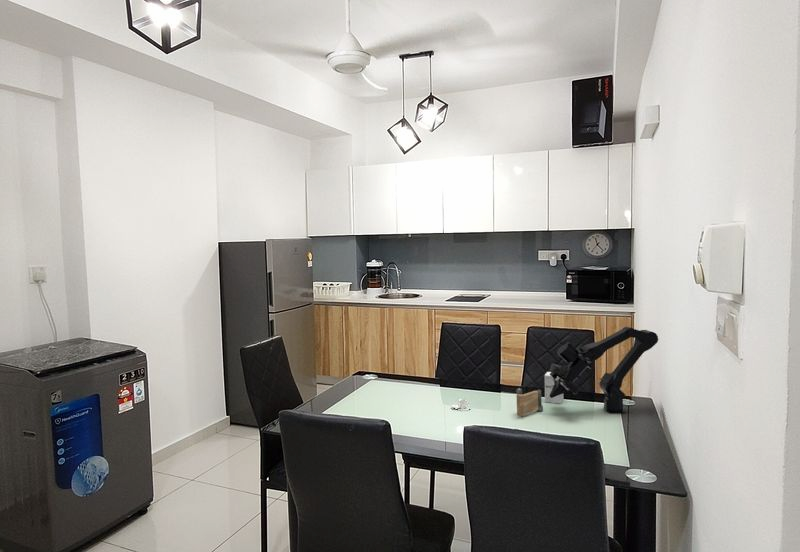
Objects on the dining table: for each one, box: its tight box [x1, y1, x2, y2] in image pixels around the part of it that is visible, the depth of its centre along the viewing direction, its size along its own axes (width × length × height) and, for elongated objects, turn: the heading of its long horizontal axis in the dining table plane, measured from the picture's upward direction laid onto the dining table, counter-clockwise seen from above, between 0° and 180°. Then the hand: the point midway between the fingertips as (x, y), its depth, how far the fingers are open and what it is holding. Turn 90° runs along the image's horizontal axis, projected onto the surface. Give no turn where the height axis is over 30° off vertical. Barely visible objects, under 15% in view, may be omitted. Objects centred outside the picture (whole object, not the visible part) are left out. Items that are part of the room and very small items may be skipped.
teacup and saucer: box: [450, 398, 470, 409], centre depth 224 cm, size 9×8×4 cm
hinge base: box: [536, 405, 544, 413], centre depth 216 cm, size 3×3×2 cm
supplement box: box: [544, 371, 564, 404], centre depth 228 cm, size 7×7×13 cm
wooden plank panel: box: [516, 389, 543, 417], centre depth 212 cm, size 2×14×8 cm, turn 126°
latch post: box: [516, 387, 523, 396], centre depth 212 cm, size 2×2×11 cm
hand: (550, 397), depth 211 cm, fingers closed
